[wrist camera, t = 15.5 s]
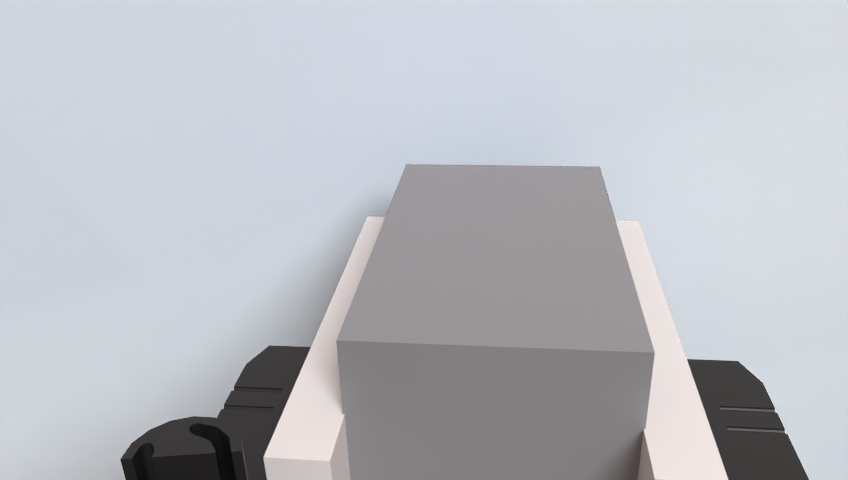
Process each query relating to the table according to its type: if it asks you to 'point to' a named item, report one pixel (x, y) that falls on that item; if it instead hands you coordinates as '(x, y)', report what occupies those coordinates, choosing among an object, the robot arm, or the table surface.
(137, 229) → the table surface
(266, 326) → the table surface
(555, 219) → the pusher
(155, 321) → the table surface
